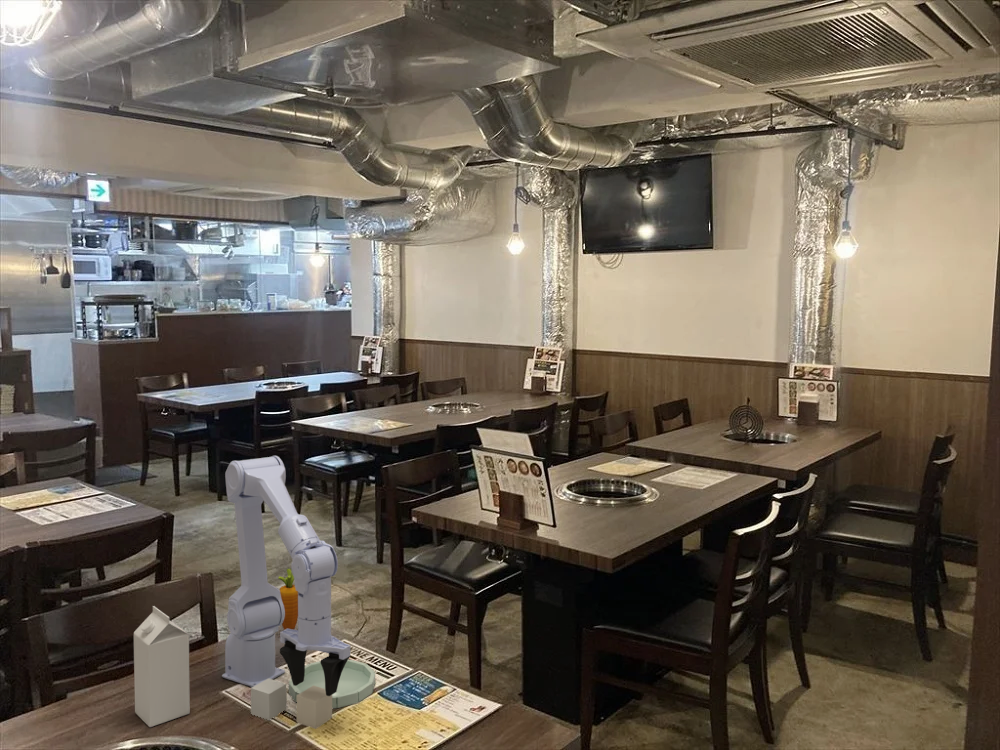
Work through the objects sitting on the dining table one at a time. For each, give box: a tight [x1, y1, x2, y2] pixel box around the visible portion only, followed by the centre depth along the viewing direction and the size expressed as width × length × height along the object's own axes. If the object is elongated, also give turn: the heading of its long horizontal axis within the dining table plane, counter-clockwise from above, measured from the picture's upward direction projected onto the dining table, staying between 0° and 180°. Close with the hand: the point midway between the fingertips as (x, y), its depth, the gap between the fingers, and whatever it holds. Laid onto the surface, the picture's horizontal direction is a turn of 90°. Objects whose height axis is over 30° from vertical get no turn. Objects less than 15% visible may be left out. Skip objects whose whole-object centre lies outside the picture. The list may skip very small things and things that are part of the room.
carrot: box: [277, 568, 298, 630], centre depth 175 cm, size 5×5×15 cm
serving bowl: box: [288, 658, 376, 709], centre depth 153 cm, size 16×16×2 cm
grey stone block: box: [250, 678, 288, 721], centre depth 143 cm, size 4×4×5 cm
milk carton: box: [133, 605, 191, 728], centre depth 141 cm, size 7×7×19 cm
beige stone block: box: [296, 685, 333, 730], centre depth 140 cm, size 4×4×5 cm
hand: (314, 688), depth 140 cm, fingers open, 7 cm apart
